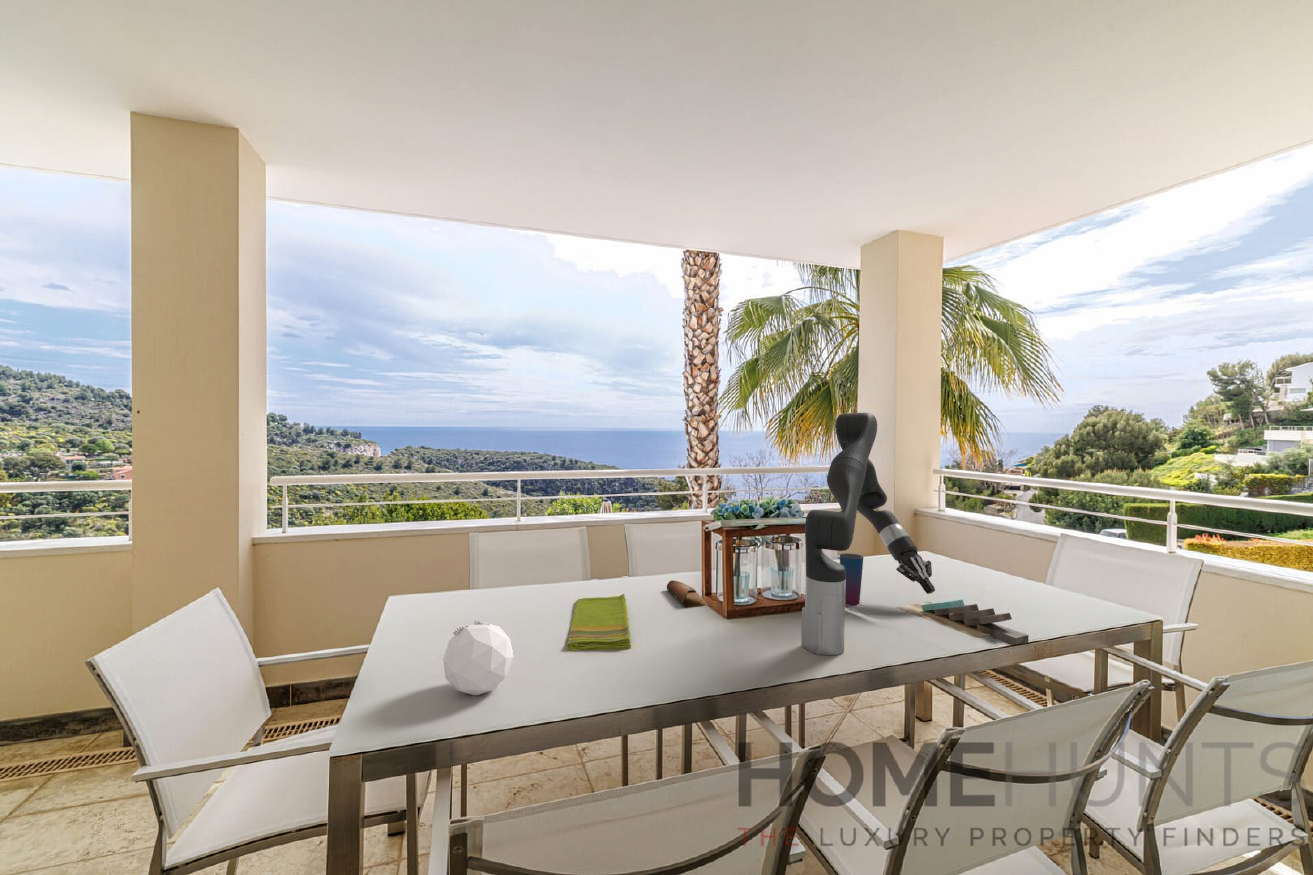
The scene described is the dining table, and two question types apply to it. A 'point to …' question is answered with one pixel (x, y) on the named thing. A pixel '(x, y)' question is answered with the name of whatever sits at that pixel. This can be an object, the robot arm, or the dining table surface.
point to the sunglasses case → (685, 594)
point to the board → (942, 619)
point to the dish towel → (600, 624)
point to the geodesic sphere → (478, 658)
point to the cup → (852, 577)
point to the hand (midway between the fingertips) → (931, 592)
